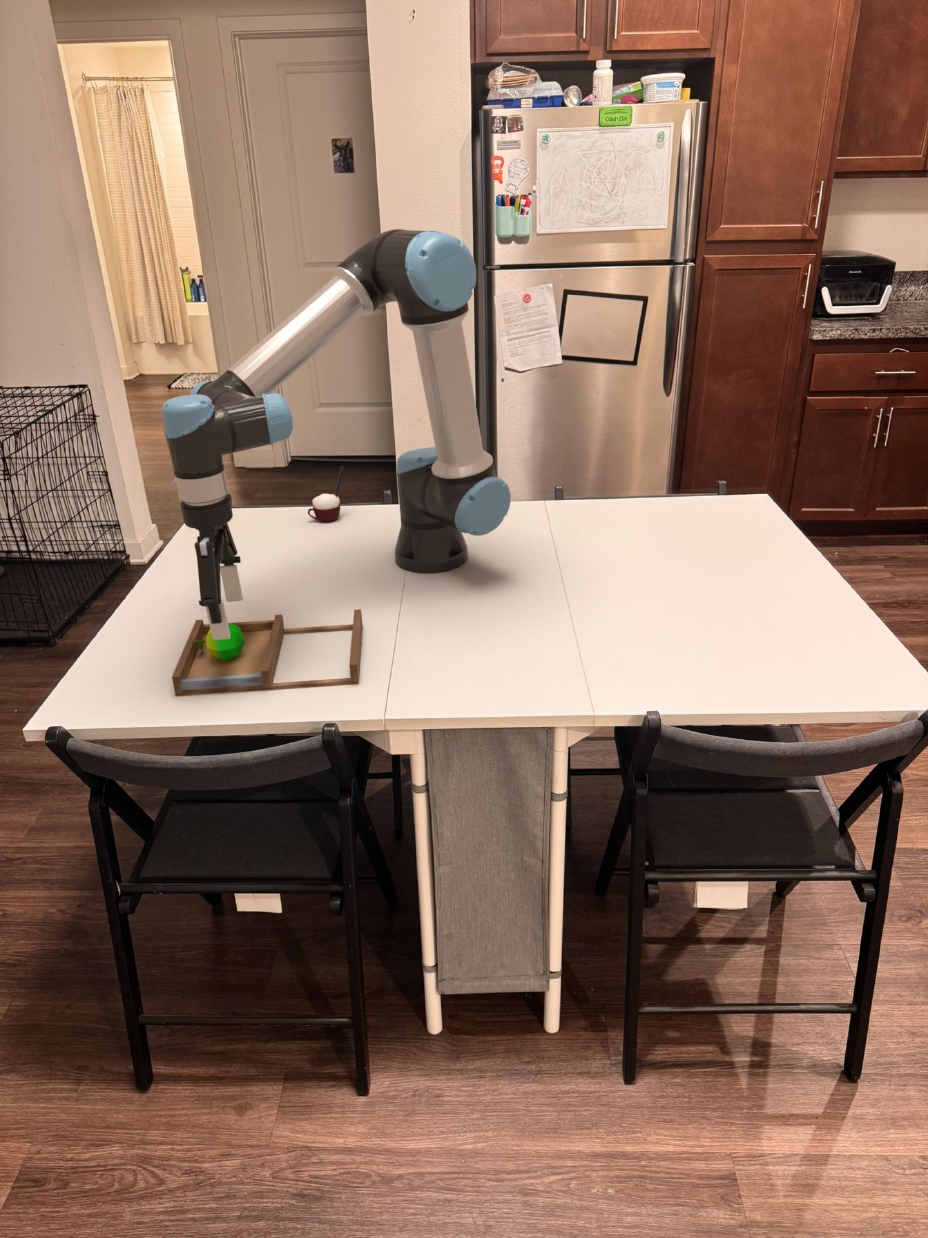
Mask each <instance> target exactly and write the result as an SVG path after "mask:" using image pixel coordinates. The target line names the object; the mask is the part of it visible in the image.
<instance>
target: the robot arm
mask: <svg viewBox="0 0 928 1238" xmlns="http://www.w3.org/2000/svg"><path fill="white" fill-rule="evenodd" d="M476 268H477V267H476V263H475V261H474V257H473V255H472V252H471V251H470V249H469V248H468V247H467V245H465V243H464V242H463V241H461V240H460V239H459V238H457V237H456V236H454V235H452V234H449V233H445V232H441V231H438V230H437V231H436V230H414V229H413V230H408V229H401V228H399V229H397V228H395V229H389V230H386V231H384V232H381V233H379V234H377V235H375V236H374V237H372V238H370V239H369V240H368V241H366V242H365V243H363V244H362V245H361V246H359V247H358V248H356V249H355V251H353V252H351V254H349V255H348V256H347V257H346V258H344V259H343V261H341V262H340V263H339V264H338V265H337V266H336V267H335V268H333V270H332V275H331V279H330V280H329V281H328V282H326V283H325V284H324V285H323V286H322V287H321V288H320V289H319V290H317V291H316V292H315V293H314V294H313V295H311V297H310V298H308V299H307V300H306V301H305V302H304V303H303V304H301V305H300V306H299V307H298V308H297V309H296V310H294V312H293V313H291V314H289V316H288V317H286V318H285V319H284V320H283V321H282V322H281V323H280V324H278V325H277V326H276V327H275V328H274V329H273V330H271V331H270V332H269V333H268V334H267V335H266V336H265V337H263V339H261V340H260V341H259V342H258V343H257V344H255V345H254V347H252V348H251V349H250V350H248V352H247V353H245V354H244V355H242V357H241V358H240V359H239V360H237V361H236V362H235V363H233V365H232V366H231V367H229V368H228V369H227V370H226V371H225V372H223V373H222V374H221V375H220V376H218V377H217V378H216V379H215V380H208V381H202V382H199V383H198V384H196V385H195V386H194V387H193V388H192V389H191V390H190V393H189V394H188V395H186V394H185V395H179V396H176V397H172V398H169V399H167V400H166V401H165V402H164V403H163V404H162V406H161V415H162V416H161V418H162V425H163V433H164V436H165V439H166V444H167V447H168V452H169V456H170V460H171V464H172V469H173V475H174V479H172V482H171V483H172V485H173V486H176V487H177V489H176V490H177V494H178V498H179V500H180V501H181V503H180V509H181V510H180V511H181V513H182V514H181V515H182V519H183V522H184V523H183V524H184V525H185V526H186V527H188V528H189V529H195V530H197V531H198V532H199V533H198V535H197V537H196V542H194V549H195V555H196V559H197V560H196V562H197V564H196V565H197V573H198V585H199V587H198V588H199V596H200V597H199V598H200V600H198V604H199V606H201V607H202V608H203V607H205V610H206V614H207V619H208V624H210V629H211V634H212V639H213V640H220V639H230V637H231V636H230V631H229V626H228V623H229V621H228V617H227V613H226V607H225V602H224V600H223V599H222V586H223V591H224V597H225V600H226V603H230V602H241V601H243V600H244V596H243V593H242V587H241V586H242V585H241V582H240V577H239V571H238V566H237V564H241V561H242V560H241V556H240V555H238V550H237V547H236V544H235V541H234V538H233V536H232V535H233V534H232V532H231V529H230V527H229V524H228V523H229V522H231V520H232V519H233V516H234V515H233V514H234V513H233V509H232V503H231V497H230V496H229V495H228V493H229V491H230V490H229V487H228V486H229V485H228V480H227V475H226V472H225V471H226V470H225V463H224V460H223V459H224V458H223V456H225V455H232V454H234V453H240V452H243V451H247V450H251V449H257V448H260V447H265V446H269V445H270V446H271V445H274V444H276V443H279V442H282V441H285V440H287V439H289V438H290V436H291V435H292V433H293V430H294V429H293V428H294V421H293V420H294V419H293V414H292V411H291V408H290V406H289V404H288V402H287V400H286V399H285V398H284V396H282V395H281V394H280V393H276V392H275V391H276V390H277V389H279V387H281V386H282V385H283V384H284V383H285V382H287V381H288V380H289V379H290V378H291V377H292V376H293V375H294V374H295V373H297V372H298V371H299V370H300V369H301V368H302V367H304V366H305V365H306V364H307V363H308V362H309V361H310V360H311V359H313V357H315V356H316V355H317V354H318V353H319V352H320V351H322V350H323V349H324V348H325V347H326V346H328V344H329V343H331V342H332V341H333V340H334V339H335V338H336V337H337V336H338V335H340V333H342V332H344V330H345V329H346V328H348V327H349V326H350V325H351V324H352V323H353V322H354V321H355V320H357V318H359V317H360V316H362V315H363V316H370V315H372V314H373V313H374V312H375V311H376V310H378V309H379V308H380V307H381V306H384V305H386V304H388V303H392V302H396V303H397V305H398V311H399V316H400V319H401V320H400V321H401V324H402V325H404V327H406V328H408V329H409V330H410V331H411V332H412V334H413V339H414V340H413V341H414V346H415V349H416V356H417V361H418V364H419V371H420V376H421V380H422V385H423V391H424V395H425V401H426V406H427V407H426V408H427V411H428V416H429V422H430V426H431V432H432V433H431V434H432V438H433V441H434V446H432V447H423V448H417V449H413V450H409V451H406V452H404V453H402V454H400V456H399V457H398V458H397V460H396V473H395V475H396V477H397V488H398V490H397V491H398V502H399V503H398V505H399V514H400V516H399V517H400V528H399V533H398V536H397V540H396V543H395V548H394V559H395V560H394V561H395V564H396V565H397V566H398V567H399V568H401V569H404V570H406V571H409V572H413V573H425V574H426V573H430V574H431V573H440V572H446V571H449V570H452V569H456V568H458V567H460V566H462V565H463V564H464V563H466V562H467V560H468V558H469V557H468V556H469V555H468V554H469V553H468V545H467V542H466V540H465V537H464V535H463V534H469V535H470V536H475V537H479V536H485V535H489V534H490V533H492V532H493V531H494V530H496V529H497V528H498V527H500V525H501V524H502V523H503V521H504V518H505V517H506V516H507V515H508V513H509V510H510V506H511V502H512V501H511V499H512V498H511V497H512V496H511V491H510V490H511V489H510V487H509V485H508V484H507V483H506V482H505V481H504V480H503V478H500V477H497V476H496V471H495V464H494V459H493V456H492V455H491V454H490V453H489V452H487V451H485V450H484V447H483V441H482V435H481V430H480V424H479V418H478V417H479V416H478V410H477V406H476V405H477V404H476V399H475V393H474V387H473V382H472V376H471V369H470V362H469V358H468V352H467V351H468V350H467V345H466V339H465V335H464V334H465V333H464V326H463V320H464V319H465V317H466V316H467V315H468V313H469V310H470V309H469V303H468V302H469V300H470V299H471V298H472V295H473V292H472V291H473V289H475V288H476V285H477V284H476V283H477V269H476ZM221 580H222V581H221ZM221 582H222V585H221Z"/></svg>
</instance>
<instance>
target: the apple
mask: <svg viewBox="0 0 928 1238" xmlns="http://www.w3.org/2000/svg"><path fill="white" fill-rule="evenodd" d="M231 623H232V622H228V626H229V631H230V636H231V637H230V639H220V640H213V639H212V634H211V629H210V630H209V632H208V634H207V637H206V640H205V641H204V640H203V641H198V640H192V642H193V643H194V644H199V643H200V644H199V645H198V646H197V648H198V649H200V650H203V643H204V642H206V645H207V648H208V650H209V653H210V655H211V656H214V657H216V658H218V659H221V660H223V661H226V660H229V659H231V658H234V657H236V656H239V654H240V652H241V650H242V648H243V645H244V643H245V640H244V637H243V635H242V632H241V630H240V627H238V626H236V625H233V624H231Z"/></svg>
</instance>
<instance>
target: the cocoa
mask: <svg viewBox="0 0 928 1238" xmlns="http://www.w3.org/2000/svg"><path fill="white" fill-rule="evenodd" d="M344 471H345V467H344V466H343V465H341V466H340V469H339V473H338V477H337V481H336V486H335V488H334V493H332V494H329V493H321V494H320V495H318V496H316V497H314V498H313V499H312V508H309V509H307V514H308V516H309V517H311V518H312V519H314V520H317V521H319V522H321V523H331V522H334V521H336V520H338V518H339V516H340V512H341V503H340V501H341V500H340V498H339V491H340V486H341V483H342V479H343V475H344ZM311 511H313V513H314V515H315V516H314V515H312V514H311Z"/></svg>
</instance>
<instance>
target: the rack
mask: <svg viewBox="0 0 928 1238" xmlns="http://www.w3.org/2000/svg"><path fill="white" fill-rule="evenodd" d="M283 617H284V615H283V614H275V615H274V619H270V620H269V619H266V620H253V621H252V620H251V621H237V622H236V621H235V622H230V623H231V624H233V625H236V626H238V627H240V630H241V632H242V635H243V637H244V640H245V643H244V645H243V648H242V650H241V652H240V654H239V656H236V657H234V658H231V659H229V660H226V661H223V660H221V659H218V658H216V657H214V656H211V655H210V653H209V650H208V648H207V645H206V642H204V643H203V650H200V649H198V648H197V646H198V645H199V644H200V643H199V644H194V643H193V642H192V640H198V641H203V640H204V641H205V640H206V637H207V634H208V632H209V630H210V624H209V623H208V624H205V623H204V619H195V622H194V624H193V626H192V628H191V631H190V634H189V636H188V638H187V641H186V643H185V645H184V648H183V650H182V652H181V655H180V657H179V658H178V662H177V663H176V666H175V669H174V671H173V673H172V676H171V679H172V685H173V690H174V694H175V697H181V696H182V697H183V696H195V695H210V694H211V695H212V694H225V693H241V692H242V693H243V692H254V691H256V692H257V691H267V690H268V691H269V690H281V689H282V690H283V689H298V688H311V687H314V688H315V687H327V686H328V687H329V686H342V685H344V686H345V685H357V684H360V674H361V673H360V672H361V671H360V670H361V659H362V658H361V657H362V643H363V640H362V639H363V628H364V627H363V614H362V609H357V608H356V609H354V610H353V620H352V621H353V622H352V624H349V623H348V624H338V625H337V624H336V625H335V624H334V625H324V626H323V625H322V626H321V625H319V626H305V627H294V628H291V627H290V628H285V625H284V618H283ZM338 631H352V632H351V639H350V640H351V643H350V654H349V662H348V663H349V666H348V667H349V676H350V677H343V678H342V677H341V678H329V679H328V678H327V679H315V680H314V679H313V680H299V681H285V682H284V681H282V682H274V680H275V676H276V671H277V667H278V663H279V660H280V659H279V658H280V654H281V649H282V646H283V645H282V644H283V640H284V636H285V635H293V634H295V635H296V634H306V633H307V634H308V633H309V634H311V633H324V632H338Z"/></svg>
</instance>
